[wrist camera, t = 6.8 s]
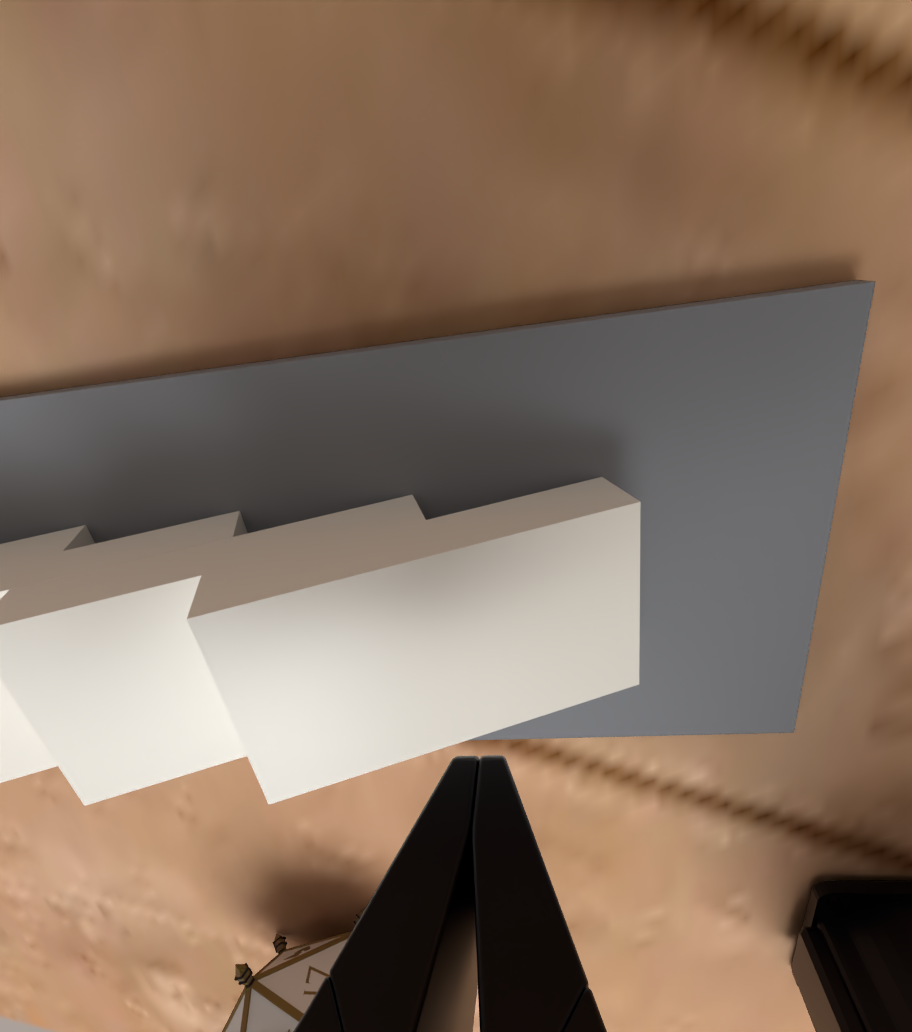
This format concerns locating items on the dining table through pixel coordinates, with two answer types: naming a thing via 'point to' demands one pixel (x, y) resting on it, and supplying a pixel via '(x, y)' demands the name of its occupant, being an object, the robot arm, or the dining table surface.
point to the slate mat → (517, 468)
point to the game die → (283, 985)
